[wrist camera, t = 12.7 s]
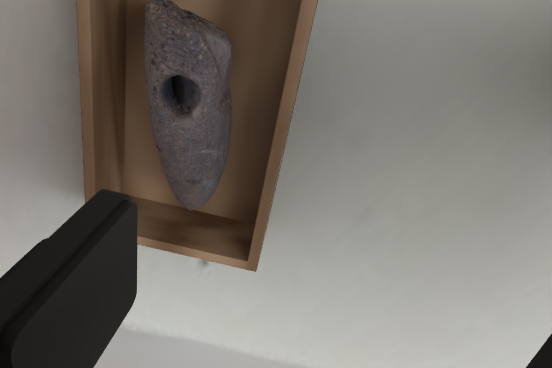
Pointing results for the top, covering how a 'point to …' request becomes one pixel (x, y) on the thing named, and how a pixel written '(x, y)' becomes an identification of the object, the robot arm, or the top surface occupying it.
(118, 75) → the box
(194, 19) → the perforated stone tool
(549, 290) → the top surface
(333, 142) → the top surface
